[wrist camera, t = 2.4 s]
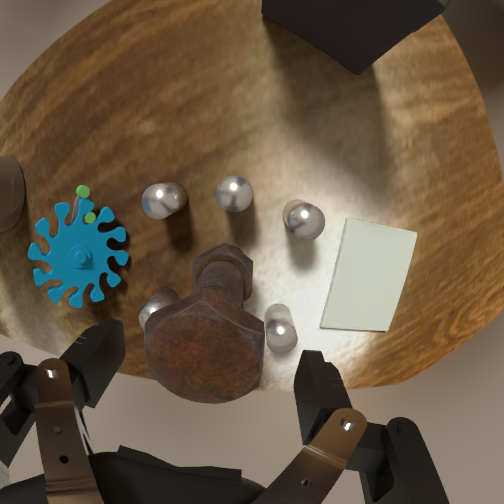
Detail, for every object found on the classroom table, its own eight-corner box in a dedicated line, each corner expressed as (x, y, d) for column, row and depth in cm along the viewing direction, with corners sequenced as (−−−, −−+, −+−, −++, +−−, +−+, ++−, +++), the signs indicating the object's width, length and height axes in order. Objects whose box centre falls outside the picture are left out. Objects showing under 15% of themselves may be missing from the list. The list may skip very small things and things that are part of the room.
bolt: (253, 290, 26) (256, 412, 12) (199, 286, 26) (153, 401, 12) (258, 229, 25) (269, 308, 10) (201, 225, 24) (137, 297, 10)
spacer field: (154, 318, 27) (140, 342, 23) (163, 167, 23) (145, 166, 19) (285, 337, 28) (290, 364, 23) (316, 188, 24) (330, 192, 19)
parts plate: (319, 324, 27) (321, 327, 27) (345, 217, 24) (348, 218, 24) (385, 328, 28) (387, 330, 27) (414, 231, 25) (417, 233, 24)
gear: (124, 309, 25) (27, 310, 17) (106, 287, 29) (25, 285, 21) (142, 196, 24) (38, 178, 16) (121, 191, 27) (36, 177, 20)
